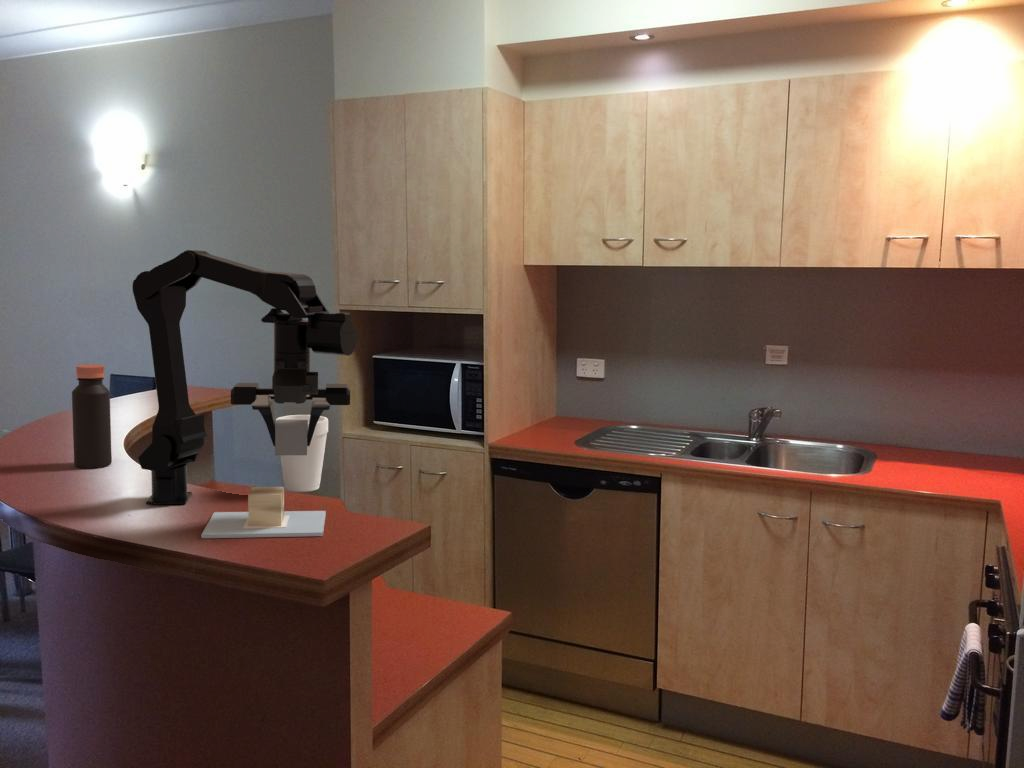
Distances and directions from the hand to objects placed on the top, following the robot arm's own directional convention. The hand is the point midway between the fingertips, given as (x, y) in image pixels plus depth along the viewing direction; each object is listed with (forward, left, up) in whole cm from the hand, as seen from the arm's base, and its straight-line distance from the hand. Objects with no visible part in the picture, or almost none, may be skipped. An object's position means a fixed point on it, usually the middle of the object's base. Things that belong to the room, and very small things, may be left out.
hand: (291, 445), depth 146 cm
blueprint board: (+5, -3, -12) cm, 14 cm away
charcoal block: (0, 0, -1) cm, 1 cm away
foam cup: (-19, +1, -12) cm, 22 cm away
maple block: (+5, -3, -11) cm, 13 cm away
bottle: (-38, -41, -12) cm, 57 cm away
